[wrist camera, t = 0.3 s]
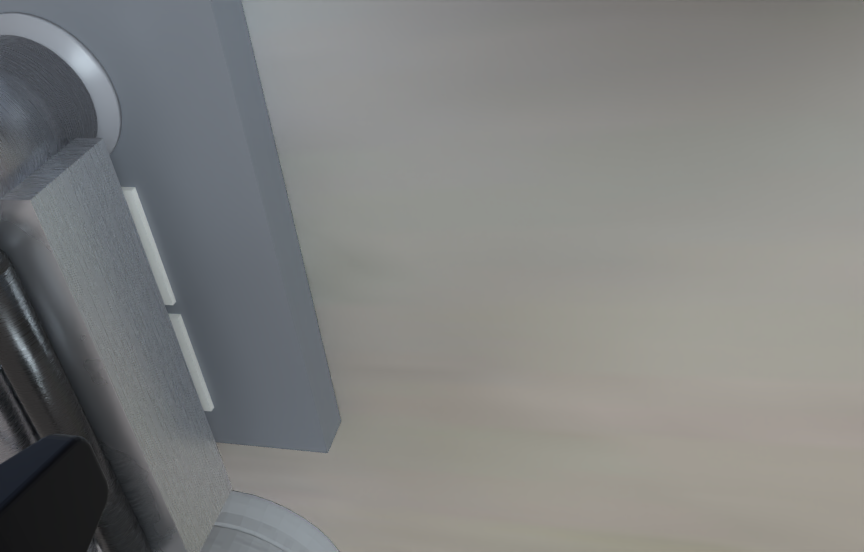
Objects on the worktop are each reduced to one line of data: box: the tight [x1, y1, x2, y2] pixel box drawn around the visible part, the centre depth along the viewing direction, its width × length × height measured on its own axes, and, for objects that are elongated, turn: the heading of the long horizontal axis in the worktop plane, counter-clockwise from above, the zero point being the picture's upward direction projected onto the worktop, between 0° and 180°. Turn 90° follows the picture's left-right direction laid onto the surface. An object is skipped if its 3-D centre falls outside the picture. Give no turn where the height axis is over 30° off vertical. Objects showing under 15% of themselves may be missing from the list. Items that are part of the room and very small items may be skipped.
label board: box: [0, 0, 341, 453], centre depth 25 cm, size 16×12×2 cm
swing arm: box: [0, 35, 233, 552], centre depth 23 cm, size 15×5×5 cm, turn 6°
